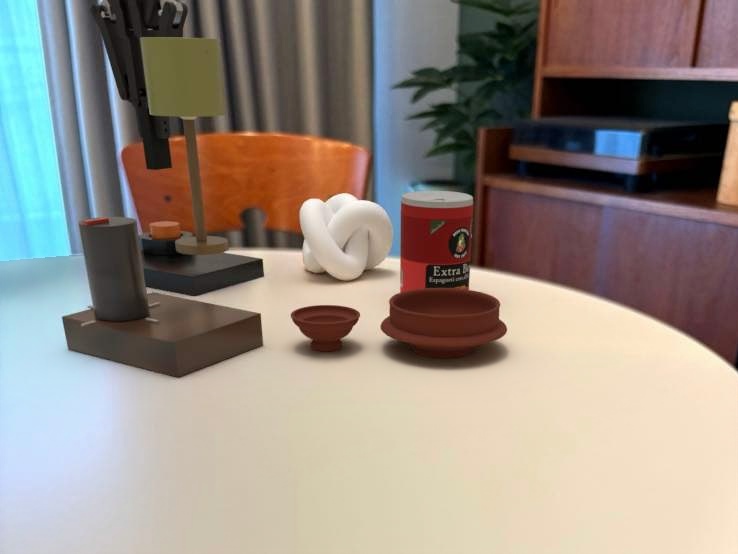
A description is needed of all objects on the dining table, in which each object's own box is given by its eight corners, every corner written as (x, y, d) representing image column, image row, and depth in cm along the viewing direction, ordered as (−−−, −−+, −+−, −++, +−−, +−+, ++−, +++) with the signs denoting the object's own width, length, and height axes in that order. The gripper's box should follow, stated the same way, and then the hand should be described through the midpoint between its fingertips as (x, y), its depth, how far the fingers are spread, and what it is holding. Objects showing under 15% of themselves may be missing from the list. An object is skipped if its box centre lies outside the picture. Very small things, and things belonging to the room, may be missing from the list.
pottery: (511, 369, 73) (515, 319, 70) (284, 366, 73) (281, 315, 70) (499, 331, 83) (502, 286, 80) (300, 328, 83) (297, 283, 80)
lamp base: (96, 278, 100) (90, 243, 98) (170, 260, 109) (166, 228, 107) (194, 297, 93) (190, 260, 91) (265, 276, 102) (263, 242, 100)
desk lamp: (152, 251, 95) (123, 37, 84) (201, 240, 101) (180, 39, 90) (203, 259, 91) (180, 37, 81) (251, 248, 97) (235, 39, 86)
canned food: (431, 313, 88) (435, 203, 83) (385, 298, 93) (385, 193, 88) (483, 302, 92) (489, 197, 87) (436, 288, 98) (439, 188, 92)
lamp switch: (145, 239, 103) (143, 224, 102) (166, 234, 106) (164, 220, 105) (166, 242, 101) (164, 227, 101) (187, 237, 104) (185, 223, 103)
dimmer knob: (124, 304, 78) (109, 211, 74) (160, 312, 76) (147, 216, 72) (83, 315, 75) (65, 218, 70) (119, 324, 72) (103, 224, 68)
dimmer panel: (55, 350, 75) (47, 316, 74) (153, 321, 84) (149, 289, 83) (169, 380, 69) (164, 343, 67) (263, 345, 78) (260, 311, 76)
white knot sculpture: (361, 290, 96) (359, 208, 92) (273, 279, 101) (268, 200, 96) (401, 271, 105) (402, 196, 101) (319, 262, 110) (317, 189, 105)
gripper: (56, -74, 88) (97, 168, 100) (143, -84, 82) (176, 175, 94) (112, -66, 93) (144, 162, 105) (197, -75, 87) (221, 169, 99)
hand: (159, 168), depth 99 cm, fingers closed
